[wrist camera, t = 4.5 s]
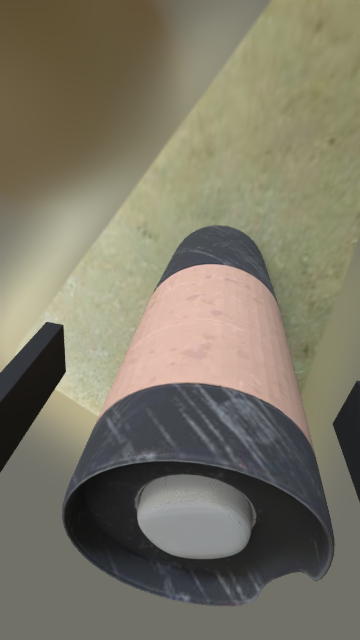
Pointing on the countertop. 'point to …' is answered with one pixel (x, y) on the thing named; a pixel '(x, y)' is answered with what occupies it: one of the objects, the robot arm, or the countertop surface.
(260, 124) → the countertop surface
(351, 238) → the countertop surface
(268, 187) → the countertop surface
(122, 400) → the travel mug
